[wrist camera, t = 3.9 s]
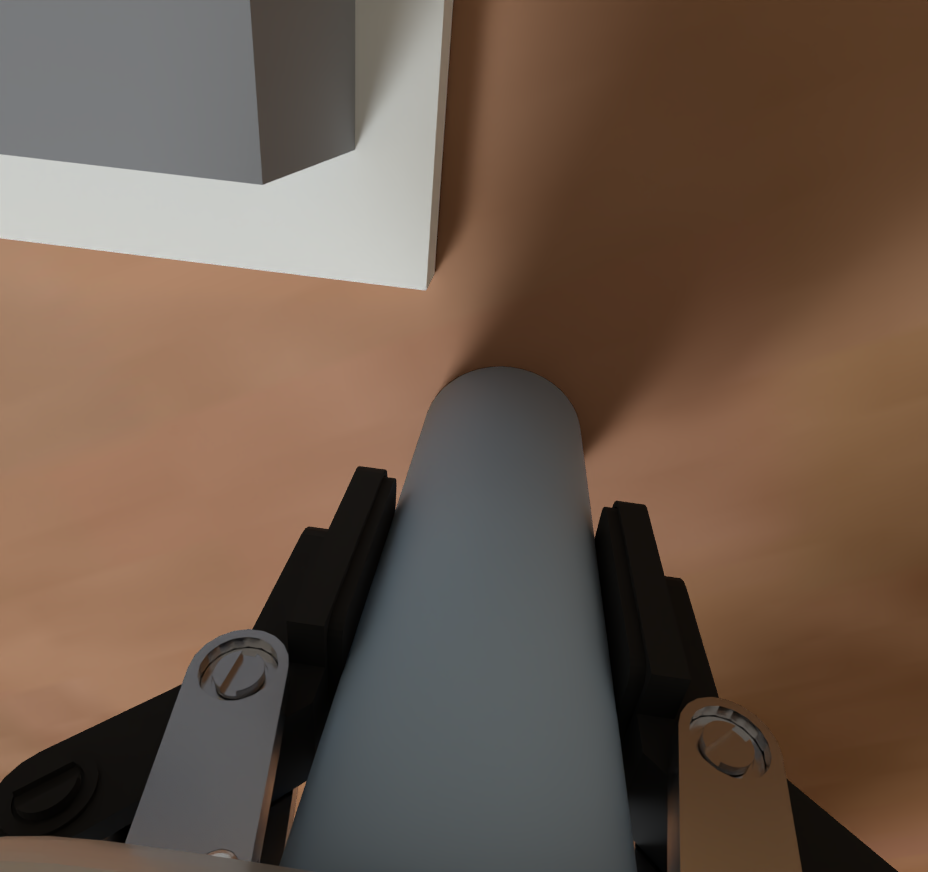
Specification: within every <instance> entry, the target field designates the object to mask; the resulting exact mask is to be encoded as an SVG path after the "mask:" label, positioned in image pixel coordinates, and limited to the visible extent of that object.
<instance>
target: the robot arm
mask: <svg viewBox="0 0 928 872" xmlns="http://www.w3.org/2000/svg"><path fill="white" fill-rule="evenodd" d="M395 506H396V479H395V478H388V477H387V471H386V470H384V469H376V468H369V467H361V466H359V467H357V469H356V471H355V473H354V475H353V477H352V480H351V482H350V484H349V486H348V488H347V490H346V493H345V495H344V497H343V499H342V501H341V503H340V505H339V508H338V510H337V512H336V514H335V516H334V518H333V521H332V523H331V525H330V527H329V529H323V528H316V527H307V528H305V530H304V531H303V533H302V534H301V536H300V538H299V540H298V542H297V544H296V546H295V548H294V550H293V552H292V554H291V556H290V558H289V560H288V561H287V563H286V565H285V567H284V569H283V571H282V573H281V575H280V577H279V579H278V581H277V583H276V585H275V587H274V589H273V590H272V592H271V594H270V596H269V598H268V600H267V602H266V604H265V606H264V608H263V610H262V612H261V614H260V616H259V618H258V620H257V621H256V623H255V625H254V627H253V629H252V630H251V629H247V630H239V631H233V632H230V633H227V634H224V635H221V636H219V637H217V638H215V639H214V640H212V641H211V642H209V643H207V644H206V645H205V646H204V647H203V648H202V649H201V650H200V651H199V652H198V653H197V654H196V655H195V656H194V658H193V660H192V661H191V663H190V665H189V667H188V669H187V672H186V675H185V677H184V680H183V683H182V685H179V686H177V687H175V688H173V689H171V690H169V691H167V692H165V693H163V694H161V695H158V696H156V697H154V698H152V699H150V700H148V701H146V702H144V703H142V704H140V705H137V706H135V707H133V708H131V709H129V710H127V711H125V712H123V713H121V714H119V715H117V716H114V717H112V718H110V719H108V720H106V721H104V722H102V723H100V724H98V725H96V726H93V727H91V728H89V729H87V730H85V731H83V732H81V733H79V734H77V735H75V736H72V737H70V738H68V739H66V740H64V741H62V742H60V743H58V744H56V745H54V746H51V747H49V748H47V749H45V750H43V751H41V752H39V753H37V754H36V755H34V756H32V757H31V758H29V759H27V760H26V761H24V762H22V763H21V764H20V765H19V766H17V767H16V768H15V769H14V770H13V771H12V772H11V773H9V774H8V775H7V776H6V777H5V778H4V779H3V780H2V782H1V783H0V872H313V871H307V870H301V869H294V868H288V867H282V866H279V864H280V861H281V858H282V855H283V852H284V849H285V846H286V843H287V840H288V837H289V834H290V831H291V828H292V825H293V820H294V813H295V806H296V799H297V793H298V786H299V785H301V784H302V783H304V782H305V781H307V779H308V776H309V773H310V770H311V767H312V763H313V760H314V757H315V754H316V751H317V748H318V745H319V742H320V739H321V736H322V733H323V730H324V727H325V724H326V721H327V718H328V715H329V712H330V709H331V705H332V702H333V699H334V696H335V693H336V690H337V687H338V684H339V681H340V678H341V675H342V673H343V670H344V667H345V664H346V661H347V658H348V655H349V652H350V649H351V645H352V642H353V639H354V636H355V633H356V630H357V627H358V624H359V621H360V618H361V615H362V612H363V609H364V606H365V603H366V600H367V597H368V593H369V590H370V587H371V584H372V581H373V578H374V575H375V572H376V569H377V566H378V563H379V560H380V557H381V554H382V551H383V548H384V544H385V541H386V538H387V535H388V532H389V529H390V526H391V523H392V520H393V517H394V514H395ZM595 547H596V555H597V563H598V570H599V578H600V586H601V594H602V602H603V609H604V617H605V625H606V633H607V641H608V648H609V656H610V664H611V672H612V680H613V687H614V695H615V703H616V711H617V718H618V726H619V734H620V741H621V749H622V757H623V765H624V772H625V780H626V788H627V796H628V804H629V811H630V819H631V827H632V835H633V843H634V850H635V858H636V866H637V872H898V871H897V870H895V869H894V868H893V867H892V866H891V865H889V864H888V863H887V862H886V861H885V860H883V859H882V858H881V857H880V856H879V855H877V854H876V853H875V852H874V851H873V850H871V849H870V848H869V847H868V846H867V845H865V844H864V843H863V842H862V841H861V840H859V839H858V838H857V837H856V836H855V835H853V834H852V833H851V832H850V831H849V830H847V829H846V828H845V827H844V826H842V825H841V824H840V823H839V822H838V821H836V820H835V819H834V818H833V817H832V816H830V815H829V814H828V813H827V812H826V811H824V810H823V809H822V808H821V807H820V806H818V805H817V804H816V803H815V802H814V801H812V800H811V799H810V798H809V797H808V796H806V795H805V794H804V793H803V792H802V791H800V790H799V789H798V788H797V787H796V786H794V785H793V784H792V783H791V782H790V781H788V780H787V779H786V773H785V768H784V762H783V756H782V753H781V750H780V747H779V744H778V742H777V740H776V739H775V737H774V736H773V734H772V733H771V731H770V730H769V728H768V727H767V726H766V725H765V724H764V723H763V722H762V721H761V720H760V719H759V718H758V717H757V716H756V715H754V714H753V713H751V712H750V711H748V710H747V709H745V708H744V707H742V706H741V705H738V704H736V703H734V702H731V701H729V700H726V699H721V698H719V697H718V693H717V690H716V686H715V683H714V680H713V676H712V673H711V670H710V666H709V663H708V659H707V656H706V653H705V649H704V646H703V643H702V639H701V636H700V632H699V629H698V626H697V622H696V619H695V615H694V612H693V609H692V605H691V602H690V599H689V595H688V592H687V588H686V586H685V584H684V581H683V580H681V579H680V578H674V577H667V576H664V572H663V568H662V564H661V561H660V557H659V553H658V549H657V545H656V541H655V537H654V534H653V530H652V526H651V522H650V518H649V514H648V510H647V507H646V506H645V505H643V504H636V503H628V502H621V501H616V502H615V503H614V504H613V507H612V508H610V507H604V508H603V510H602V513H601V516H600V520H599V524H598V528H597V532H596V536H595Z"/></svg>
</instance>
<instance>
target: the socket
mask: <svg viewBox="0 0 928 872" xmlns="http://www.w3.org/2000/svg"><path fill="white" fill-rule="evenodd" d="M452 12H453V0H0V238H3V239H11V240H19V241H27V242H35V243H43V244H52V245H60V246H68V247H76V248H84V249H92V250H101V251H109V252H117V253H125V254H133V255H141V256H149V257H158V258H166V259H174V260H182V261H190V262H198V263H207V264H215V265H223V266H231V267H239V268H247V269H255V270H264V271H272V272H280V273H288V274H296V275H304V276H312V277H321V278H329V279H337V280H345V281H353V282H361V283H370V284H378V285H386V286H394V287H402V288H410V289H418V290H427V288H428V286H429V284H430V282H431V280H432V278H433V276H434V273H435V259H436V244H437V230H438V215H439V201H440V186H441V171H442V157H443V142H444V128H445V113H446V99H447V84H448V70H449V55H450V41H451V26H452Z"/></svg>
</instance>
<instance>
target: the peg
mask: <svg viewBox="0 0 928 872" xmlns="http://www.w3.org/2000/svg"><path fill="white" fill-rule="evenodd" d="M279 866H282V867H288V868H294V869H301V870H307V871H313V872H637V866H636V858H635V850H634V843H633V835H632V827H631V819H630V811H629V804H628V796H627V788H626V780H625V772H624V765H623V757H622V749H621V741H620V734H619V726H618V718H617V711H616V703H615V695H614V687H613V680H612V672H611V664H610V656H609V648H608V641H607V633H606V625H605V617H604V609H603V602H602V594H601V586H600V578H599V570H598V563H597V555H596V547H595V539H594V531H593V523H592V515H591V508H590V500H589V492H588V484H587V476H586V469H585V461H584V453H583V445H582V437H581V430H580V424H579V420H578V417H577V414H576V412H575V410H574V408H573V406H572V404H571V403H570V401H569V400H568V398H567V397H566V396H565V395H564V394H563V392H562V391H561V390H560V389H559V388H557V387H556V386H555V385H554V384H553V383H551V382H550V381H548V380H546V379H545V378H543V377H541V376H539V375H537V374H535V373H533V372H529V371H526V370H523V369H518V368H513V367H488V368H482V369H478V370H474V371H471V372H468V373H466V374H464V375H462V376H460V377H458V378H456V379H455V380H453V381H452V382H450V383H449V384H448V385H447V386H445V387H444V388H443V389H442V390H441V391H440V393H439V394H438V395H437V396H436V398H435V399H434V401H433V402H432V404H431V406H430V408H429V410H428V412H427V415H426V418H425V422H424V425H423V428H422V431H421V434H420V437H419V440H418V443H417V446H416V449H415V452H414V455H413V458H412V461H411V464H410V467H409V470H408V473H407V477H406V480H405V483H404V486H403V489H402V492H401V495H400V498H399V501H398V504H397V507H396V510H395V514H394V517H393V520H392V523H391V526H390V529H389V532H388V535H387V538H386V541H385V544H384V548H383V551H382V554H381V557H380V560H379V563H378V566H377V569H376V572H375V575H374V578H373V581H372V584H371V587H370V590H369V593H368V597H367V600H366V603H365V606H364V609H363V612H362V615H361V618H360V621H359V624H358V627H357V630H356V633H355V636H354V639H353V642H352V645H351V649H350V652H349V655H348V658H347V661H346V664H345V667H344V670H343V673H342V675H341V678H340V681H339V684H338V687H337V690H336V693H335V696H334V699H333V702H332V705H331V709H330V712H329V715H328V718H327V721H326V724H325V727H324V730H323V733H322V736H321V739H320V742H319V745H318V748H317V751H316V754H315V757H314V760H313V763H312V767H311V770H310V773H309V776H308V779H307V782H306V785H305V788H304V791H303V794H302V797H301V800H300V803H299V806H298V809H297V812H296V815H295V818H294V821H293V825H292V828H291V831H290V834H289V837H288V840H287V843H286V846H285V849H284V852H283V855H282V858H281V861H280V864H279Z"/></svg>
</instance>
